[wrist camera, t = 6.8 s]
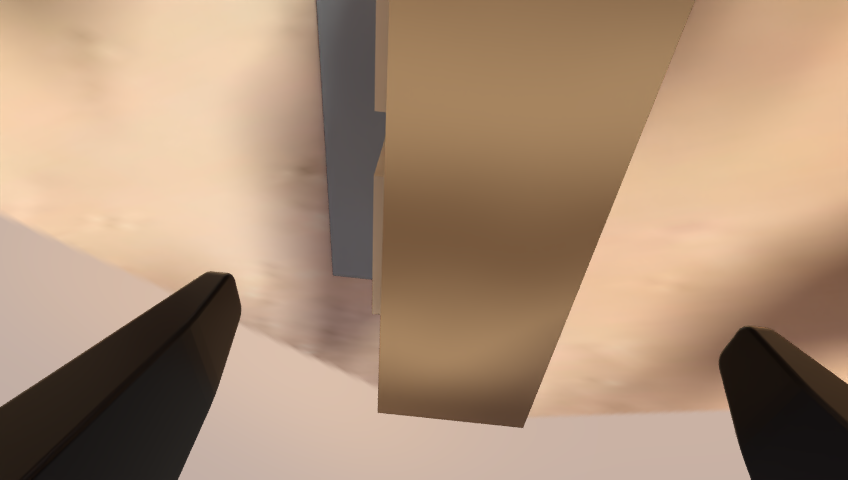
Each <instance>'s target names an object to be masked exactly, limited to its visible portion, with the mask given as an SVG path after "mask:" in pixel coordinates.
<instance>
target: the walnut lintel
mask: <svg viewBox="0 0 848 480" xmlns="http://www.w3.org/2000/svg"><path fill="white" fill-rule="evenodd" d="M694 2H695V0H389V26H388V62H387V98H386V134H385V169H384V205H383V241H382V277H381V312H380V348H379V384H378V413H386V414H396V415H406V416H416V417H425V418H434V419H444V420H453V421H462V422H472V423H481V424H491V425H502V426H510V427H519V428H523V427H524V424H525V421H526V419H527V417H528V414H529V412H530V409H531V407H532V404H533V402H534V399H535V397H536V394H537V392H538V389H539V387H540V384H541V382H542V379H543V377H544V374H545V372H546V369H547V367H548V364H549V362H550V360H551V357H552V355H553V352H554V350H555V347H556V345H557V342H558V340H559V337H560V335H561V332H562V330H563V327H564V325H565V322H566V320H567V317H568V315H569V312H570V310H571V307H572V305H573V302H574V300H575V297H576V295H577V292H578V290H579V287H580V285H581V282H582V280H583V278H584V275H585V273H586V270H587V268H588V265H589V263H590V260H591V258H592V255H593V253H594V250H595V248H596V245H597V243H598V240H599V238H600V235H601V233H602V230H603V228H604V225H605V223H606V220H607V218H608V215H609V213H610V210H611V208H612V205H613V203H614V200H615V198H616V196H617V193H618V191H619V188H620V186H621V183H622V181H623V178H624V176H625V173H626V171H627V168H628V166H629V163H630V161H631V158H632V156H633V153H634V151H635V148H636V146H637V143H638V141H639V138H640V136H641V133H642V131H643V128H644V126H645V123H646V121H647V118H648V116H649V114H650V111H651V109H652V106H653V104H654V101H655V99H656V96H657V94H658V91H659V89H660V86H661V84H662V81H663V79H664V76H665V74H666V71H667V69H668V66H669V64H670V61H671V59H672V56H673V54H674V51H675V49H676V46H677V44H678V41H679V39H680V37H681V34H682V32H683V29H684V27H685V24H686V22H687V19H688V17H689V14H690V12H691V9H692V7H693V4H694Z"/></svg>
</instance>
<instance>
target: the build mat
mask: <svg viewBox="0 0 848 480" xmlns="http://www.w3.org/2000/svg"><path fill="white" fill-rule="evenodd" d="M317 16H318V32H319V49H320V66H321V83H322V100H323V116H324V133H325V150H326V167H327V183H328V200H329V217H330V234H331V250H332V267H333V275H334V276H343V277H353V278H362V279H372V266H373V190H374V173H375V170H376V167H377V163H378V160H379V157H380V153H381V150H382V147H383V143H384V140H385V134H386V112H378V111H375V40H376V0H317Z"/></svg>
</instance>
